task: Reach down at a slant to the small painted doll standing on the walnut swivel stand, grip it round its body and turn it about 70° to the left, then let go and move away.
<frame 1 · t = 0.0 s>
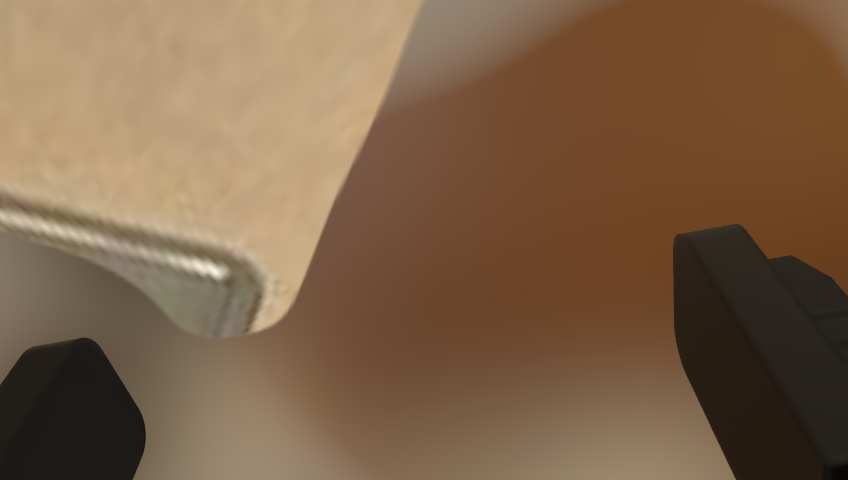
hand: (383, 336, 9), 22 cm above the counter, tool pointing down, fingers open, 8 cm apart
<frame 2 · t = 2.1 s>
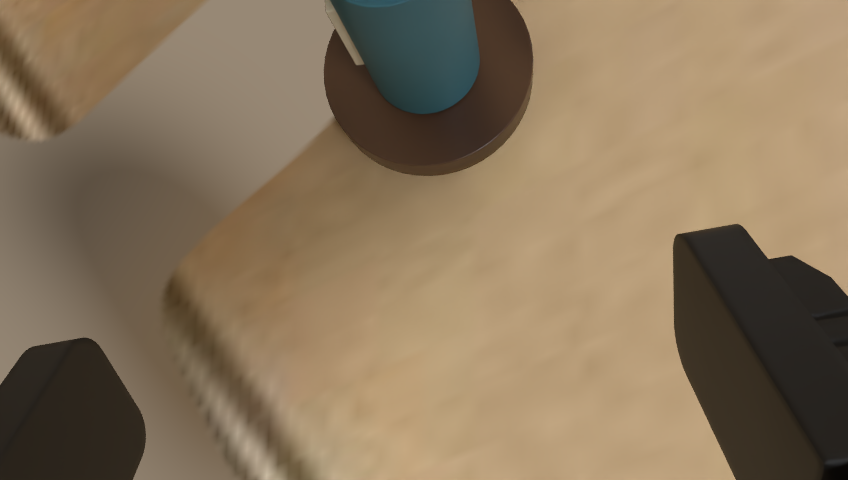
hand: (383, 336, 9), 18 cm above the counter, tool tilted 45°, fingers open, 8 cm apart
stand: (430, 78, 29), on the counter
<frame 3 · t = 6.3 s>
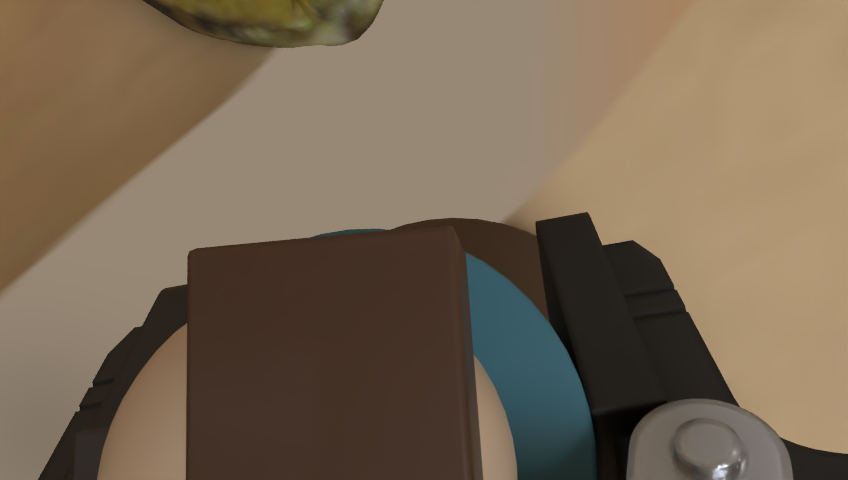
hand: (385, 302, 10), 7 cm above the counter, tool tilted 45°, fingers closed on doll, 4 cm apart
doll: (401, 433, 9), point 7 cm above the counter, hinge at -0.1°, touching gripper
stand: (457, 408, 16), on the counter
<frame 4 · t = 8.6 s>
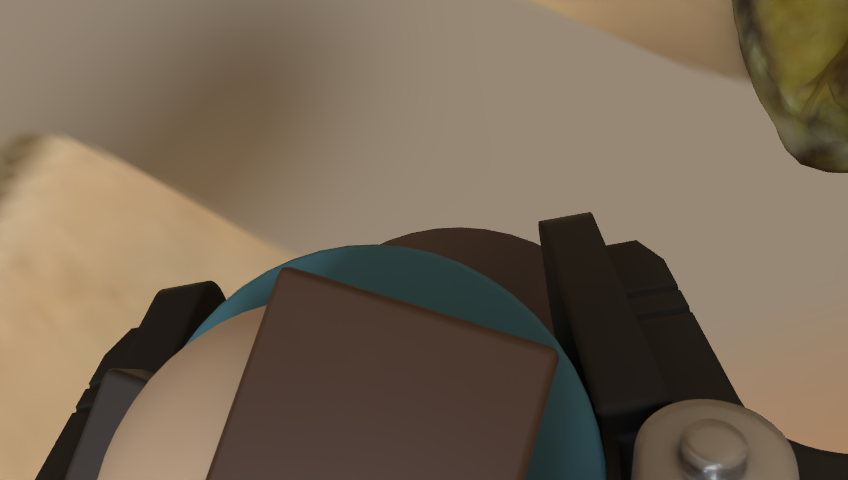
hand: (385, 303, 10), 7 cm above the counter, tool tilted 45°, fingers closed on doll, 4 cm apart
doll: (404, 448, 9), point 7 cm above the counter, hinge at 47.4°, touching gripper
stand: (460, 420, 16), on the counter
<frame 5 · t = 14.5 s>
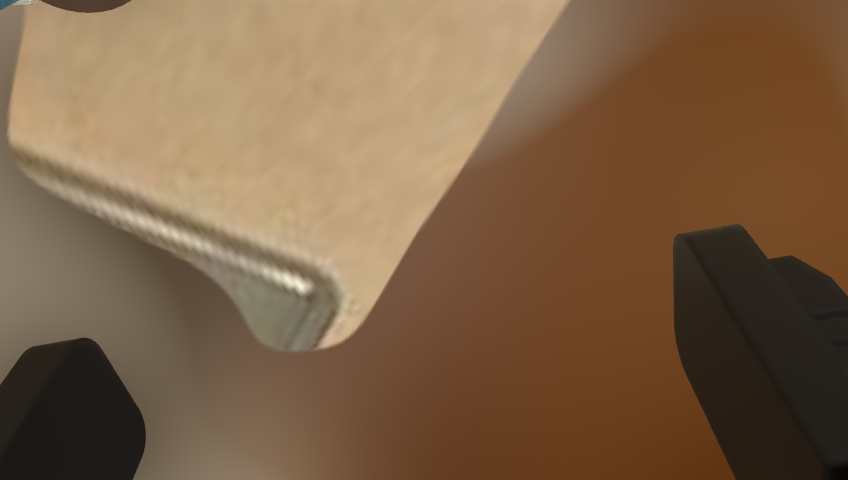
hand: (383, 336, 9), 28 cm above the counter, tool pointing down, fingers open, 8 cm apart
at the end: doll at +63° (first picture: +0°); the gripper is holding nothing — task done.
